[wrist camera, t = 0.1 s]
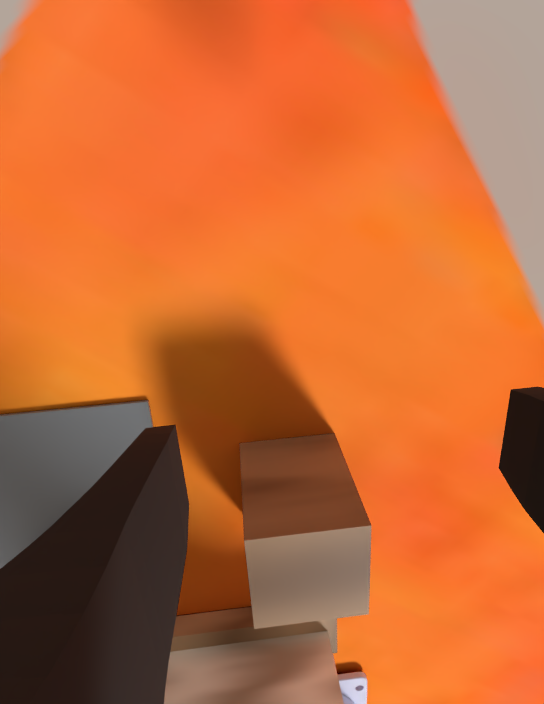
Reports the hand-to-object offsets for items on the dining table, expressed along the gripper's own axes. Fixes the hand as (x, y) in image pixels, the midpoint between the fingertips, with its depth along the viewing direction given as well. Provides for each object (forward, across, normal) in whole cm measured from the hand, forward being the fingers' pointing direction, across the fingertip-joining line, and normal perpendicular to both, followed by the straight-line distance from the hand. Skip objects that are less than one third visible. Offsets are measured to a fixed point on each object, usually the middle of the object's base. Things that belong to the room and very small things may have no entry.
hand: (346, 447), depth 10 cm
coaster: (+10, +11, +8) cm, 17 cm away
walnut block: (+10, 0, +9) cm, 13 cm away
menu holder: (+10, +3, +19) cm, 21 cm away
